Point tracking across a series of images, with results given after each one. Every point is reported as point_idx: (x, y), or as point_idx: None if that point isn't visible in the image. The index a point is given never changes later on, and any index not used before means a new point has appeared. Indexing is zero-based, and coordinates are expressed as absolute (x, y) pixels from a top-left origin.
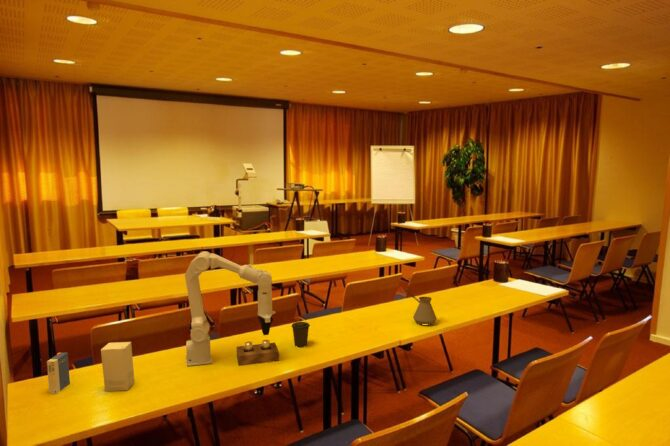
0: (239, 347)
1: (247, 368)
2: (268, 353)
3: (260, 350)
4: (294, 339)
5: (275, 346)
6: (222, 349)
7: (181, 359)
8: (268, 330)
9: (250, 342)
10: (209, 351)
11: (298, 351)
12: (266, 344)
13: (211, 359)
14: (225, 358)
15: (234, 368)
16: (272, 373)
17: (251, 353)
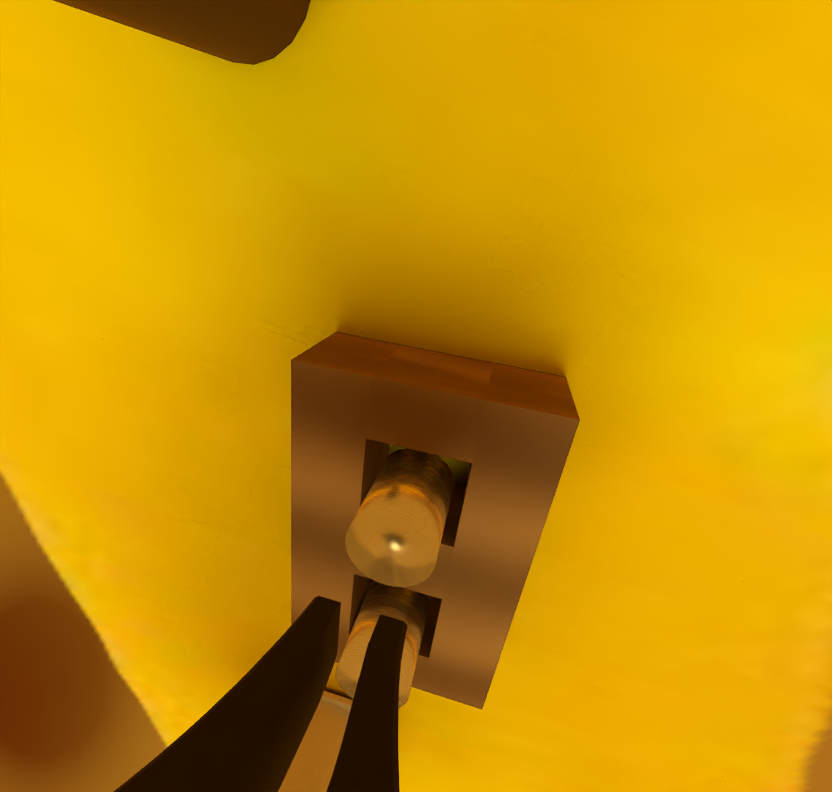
0: None
1: (562, 613)
2: (544, 513)
3: (449, 554)
4: (201, 41)
5: (411, 398)
6: (203, 604)
7: None
8: (392, 709)
9: None
10: (329, 775)
11: (423, 74)
12: (439, 540)
13: (345, 705)
14: None
15: (514, 662)
16: (796, 521)
17: (481, 631)
